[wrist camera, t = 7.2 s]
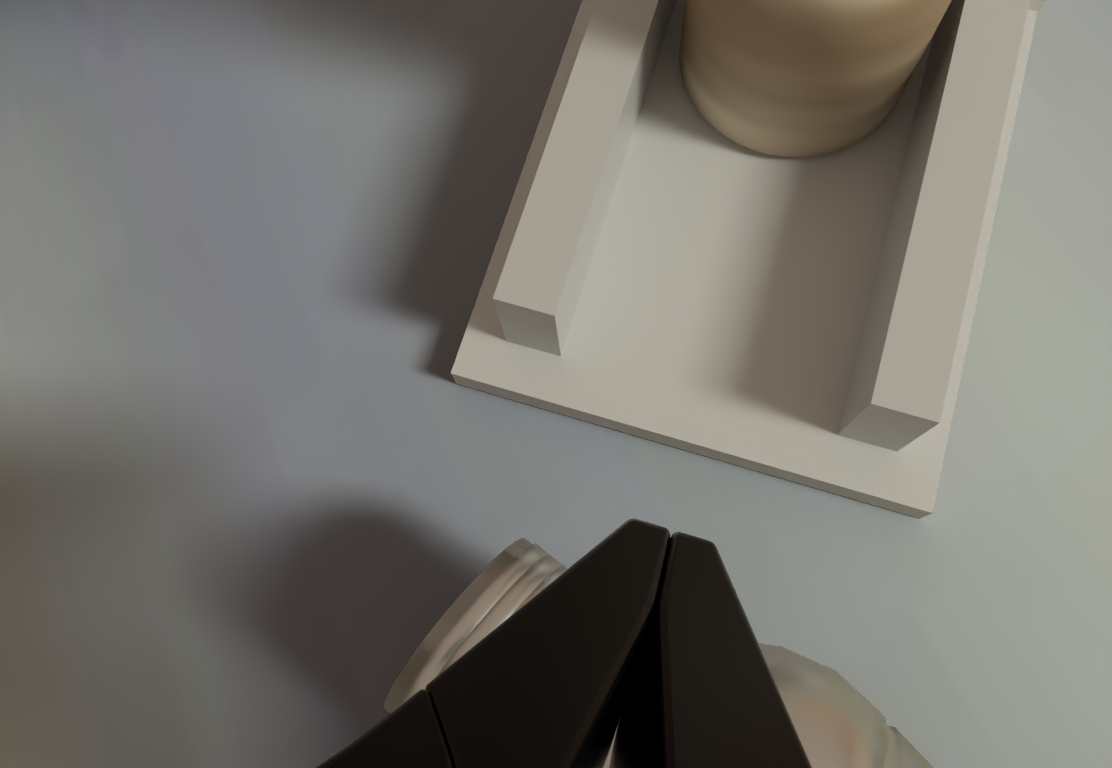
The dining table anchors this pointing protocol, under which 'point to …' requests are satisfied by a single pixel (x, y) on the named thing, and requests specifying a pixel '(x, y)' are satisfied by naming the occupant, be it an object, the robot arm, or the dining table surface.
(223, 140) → the dining table surface
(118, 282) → the dining table surface
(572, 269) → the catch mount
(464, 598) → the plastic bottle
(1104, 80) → the dining table surface
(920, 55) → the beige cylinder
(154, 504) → the dining table surface
